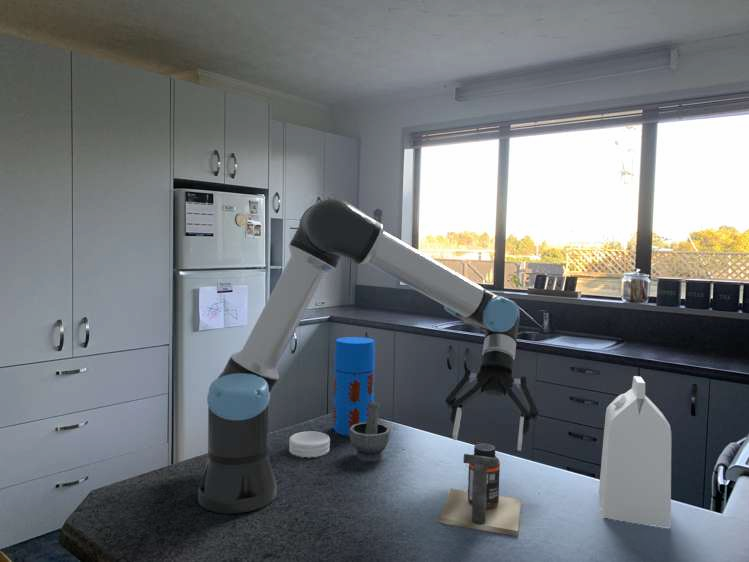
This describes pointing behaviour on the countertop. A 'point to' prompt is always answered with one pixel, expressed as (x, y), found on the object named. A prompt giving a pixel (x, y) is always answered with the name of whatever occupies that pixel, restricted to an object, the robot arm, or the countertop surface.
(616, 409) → the milk
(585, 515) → the countertop surface
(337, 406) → the thermos
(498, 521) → the headphone stand
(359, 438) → the mortar and pestle
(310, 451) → the white round container
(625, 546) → the countertop surface
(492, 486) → the supplement bottle
